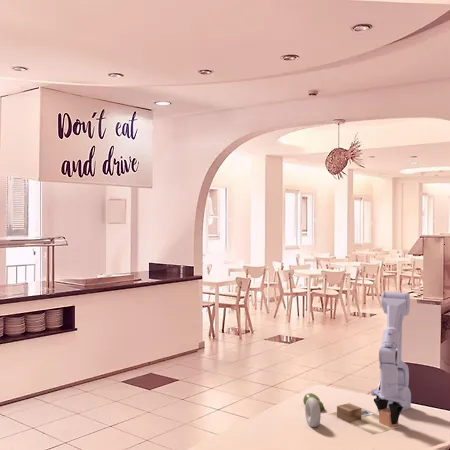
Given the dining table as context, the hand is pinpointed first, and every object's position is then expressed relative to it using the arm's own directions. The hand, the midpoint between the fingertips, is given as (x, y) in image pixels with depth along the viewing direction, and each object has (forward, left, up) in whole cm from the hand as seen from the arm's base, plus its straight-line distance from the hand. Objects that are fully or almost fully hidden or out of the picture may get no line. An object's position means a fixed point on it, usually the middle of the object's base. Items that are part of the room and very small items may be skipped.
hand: (388, 421), depth 192 cm
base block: (+8, -11, -1) cm, 14 cm away
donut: (+23, -13, -2) cm, 26 cm away
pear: (+11, -26, -2) cm, 29 cm away
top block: (0, 0, -1) cm, 1 cm away
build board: (+4, -7, -2) cm, 8 cm away
